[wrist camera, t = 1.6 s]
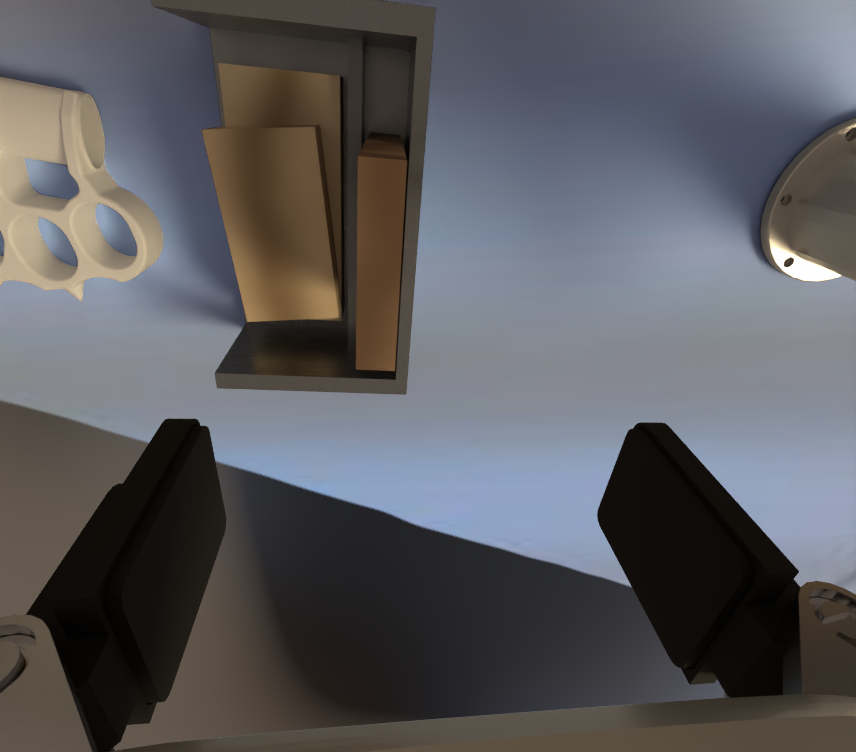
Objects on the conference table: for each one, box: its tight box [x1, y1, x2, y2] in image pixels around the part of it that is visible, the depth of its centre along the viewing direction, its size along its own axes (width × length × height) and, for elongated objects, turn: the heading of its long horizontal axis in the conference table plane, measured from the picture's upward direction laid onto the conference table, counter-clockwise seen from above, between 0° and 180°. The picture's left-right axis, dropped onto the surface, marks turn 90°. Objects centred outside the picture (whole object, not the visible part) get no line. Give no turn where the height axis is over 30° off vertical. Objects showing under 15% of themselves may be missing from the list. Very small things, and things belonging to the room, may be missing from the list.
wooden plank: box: [356, 132, 407, 371], centre depth 28 cm, size 2×10×15 cm, turn 175°
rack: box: [151, 0, 435, 394], centre depth 31 cm, size 13×22×9 cm, turn 175°
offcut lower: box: [218, 63, 344, 321], centre depth 32 cm, size 7×16×2 cm, turn 175°
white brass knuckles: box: [0, 77, 163, 302], centre depth 32 cm, size 3×18×15 cm
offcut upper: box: [202, 125, 342, 322], centre depth 31 cm, size 6×12×2 cm, turn 1°
